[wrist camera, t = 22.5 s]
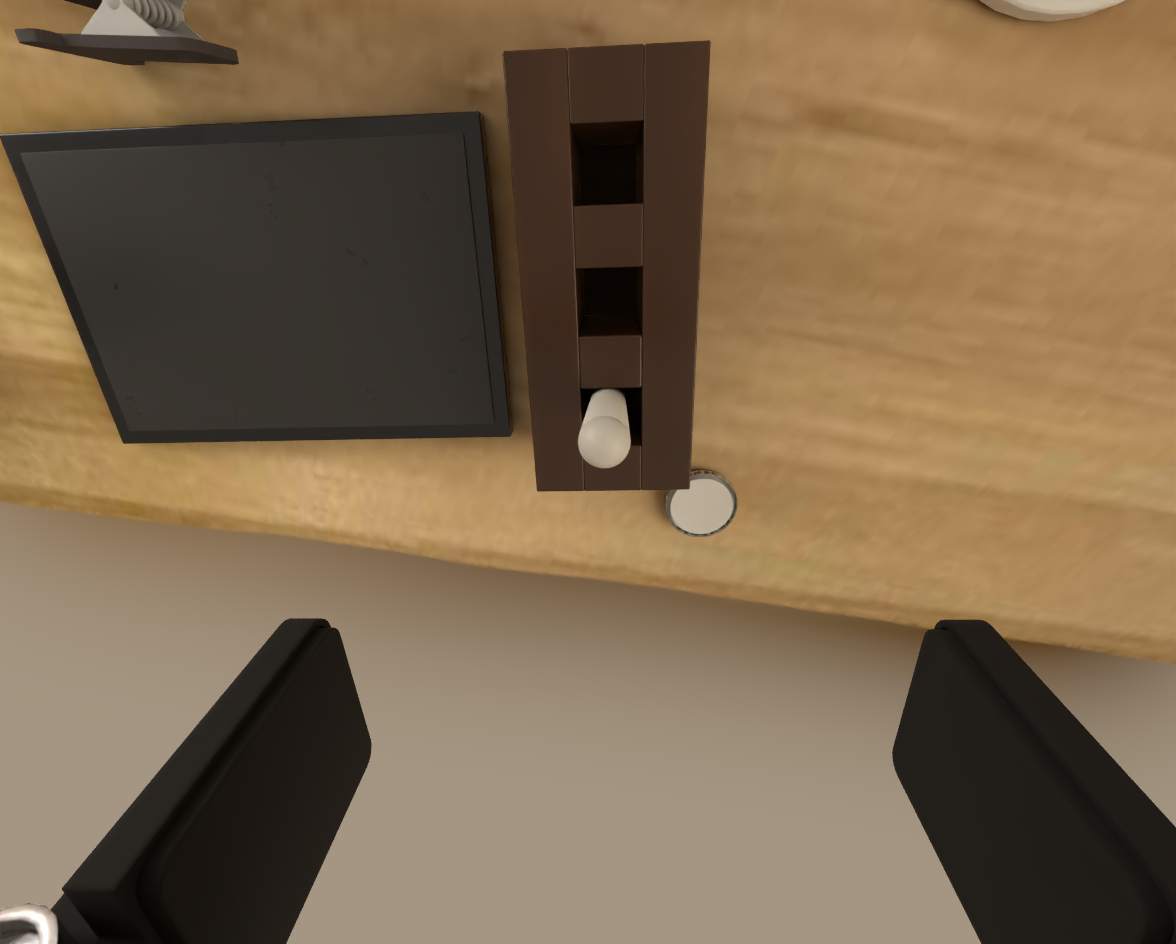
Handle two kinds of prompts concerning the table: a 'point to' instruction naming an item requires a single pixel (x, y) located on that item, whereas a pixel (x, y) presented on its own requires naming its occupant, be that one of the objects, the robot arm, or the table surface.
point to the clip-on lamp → (133, 35)
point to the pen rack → (610, 250)
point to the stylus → (605, 429)
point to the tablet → (279, 275)
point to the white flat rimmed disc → (702, 505)
